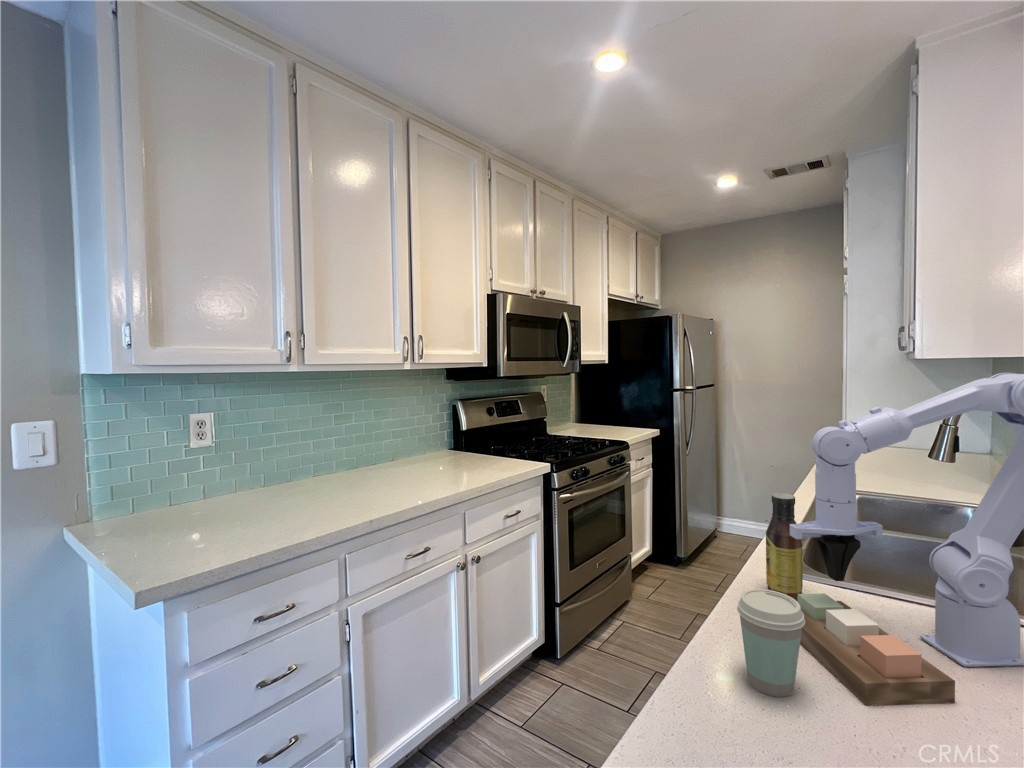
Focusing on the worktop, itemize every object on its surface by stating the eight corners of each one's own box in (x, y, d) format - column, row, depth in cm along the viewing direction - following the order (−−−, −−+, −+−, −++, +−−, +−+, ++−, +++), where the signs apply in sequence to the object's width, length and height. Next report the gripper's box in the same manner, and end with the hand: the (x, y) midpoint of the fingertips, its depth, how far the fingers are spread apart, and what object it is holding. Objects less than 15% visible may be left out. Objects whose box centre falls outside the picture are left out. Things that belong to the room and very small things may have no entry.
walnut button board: (840, 617, 86) (840, 600, 86) (954, 702, 64) (955, 680, 64) (774, 619, 86) (773, 602, 86) (865, 705, 64) (865, 683, 64)
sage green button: (824, 615, 85) (824, 593, 85) (843, 630, 80) (843, 606, 80) (797, 616, 85) (797, 594, 85) (815, 631, 80) (815, 607, 80)
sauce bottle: (773, 584, 100) (772, 488, 99) (807, 594, 95) (807, 494, 94) (760, 594, 95) (760, 495, 95) (795, 605, 91) (795, 501, 90)
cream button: (855, 633, 78) (855, 608, 78) (878, 651, 73) (878, 624, 73) (825, 634, 78) (825, 609, 77) (846, 651, 73) (847, 625, 73)
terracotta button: (892, 661, 70) (892, 634, 70) (921, 683, 65) (921, 654, 65) (860, 662, 70) (860, 635, 70) (885, 684, 65) (886, 655, 65)
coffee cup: (815, 707, 64) (815, 618, 64) (746, 700, 66) (746, 613, 65) (792, 667, 72) (791, 589, 72) (731, 662, 74) (730, 585, 74)
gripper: (860, 491, 85) (861, 567, 86) (779, 494, 85) (779, 570, 86) (892, 502, 78) (892, 585, 79) (803, 505, 78) (804, 588, 79)
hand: (835, 578), depth 82 cm, fingers closed
